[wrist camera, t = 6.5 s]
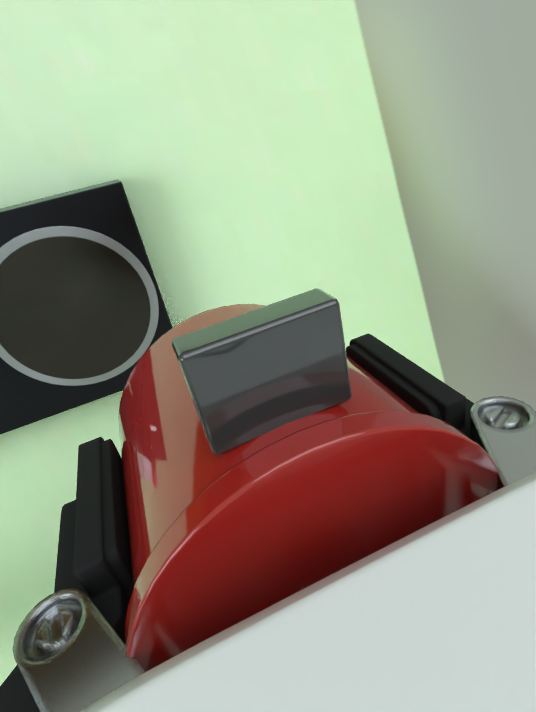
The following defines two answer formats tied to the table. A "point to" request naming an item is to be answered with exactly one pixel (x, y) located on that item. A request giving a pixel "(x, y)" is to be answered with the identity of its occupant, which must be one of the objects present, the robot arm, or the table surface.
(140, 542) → the pot
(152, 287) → the burner
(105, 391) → the hot plate
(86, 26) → the table surface
